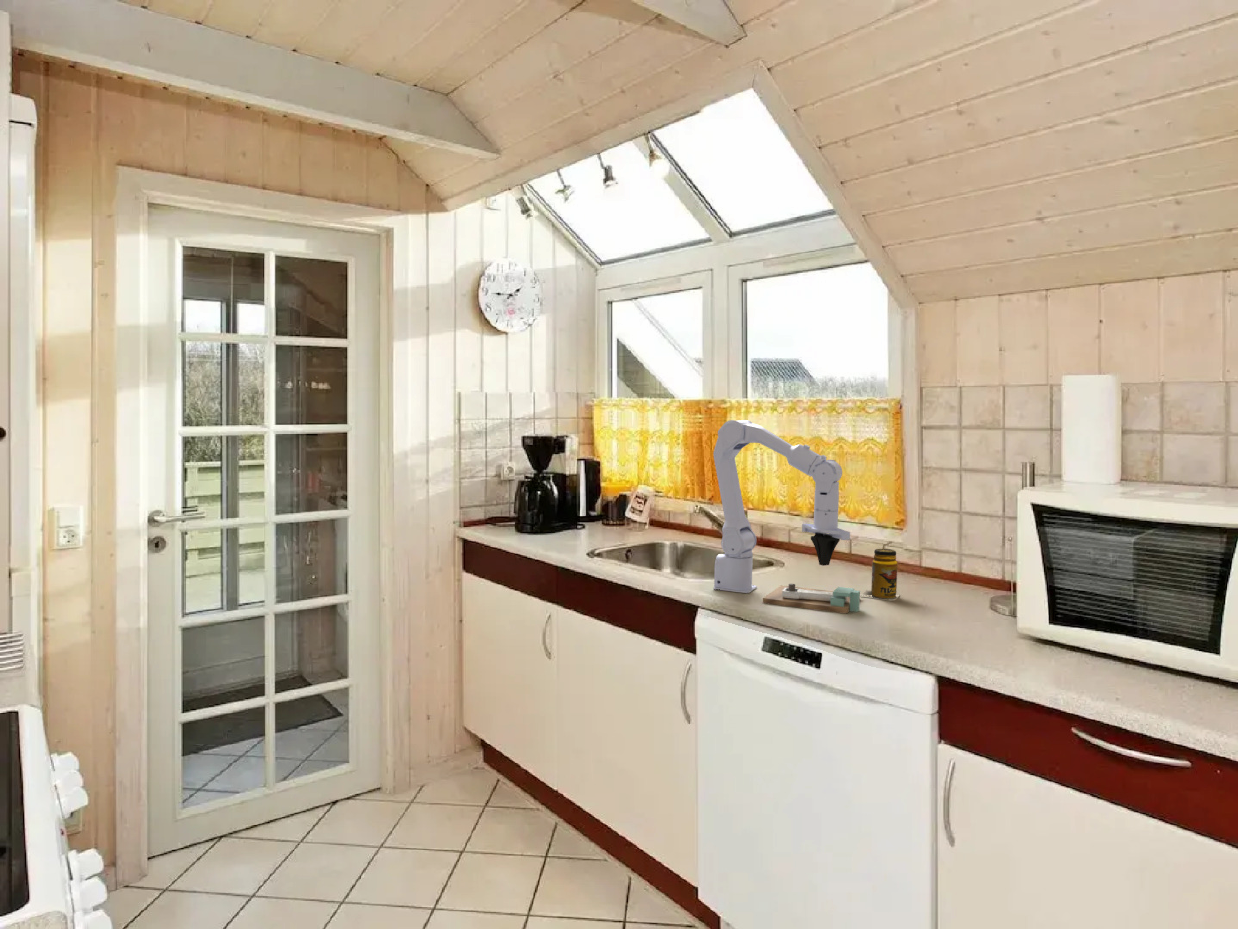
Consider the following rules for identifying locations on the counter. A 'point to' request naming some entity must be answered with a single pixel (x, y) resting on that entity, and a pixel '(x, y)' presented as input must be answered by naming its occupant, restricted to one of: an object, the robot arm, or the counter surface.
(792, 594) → the link
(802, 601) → the board
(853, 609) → the keeper
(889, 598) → the condiment
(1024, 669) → the counter surface
